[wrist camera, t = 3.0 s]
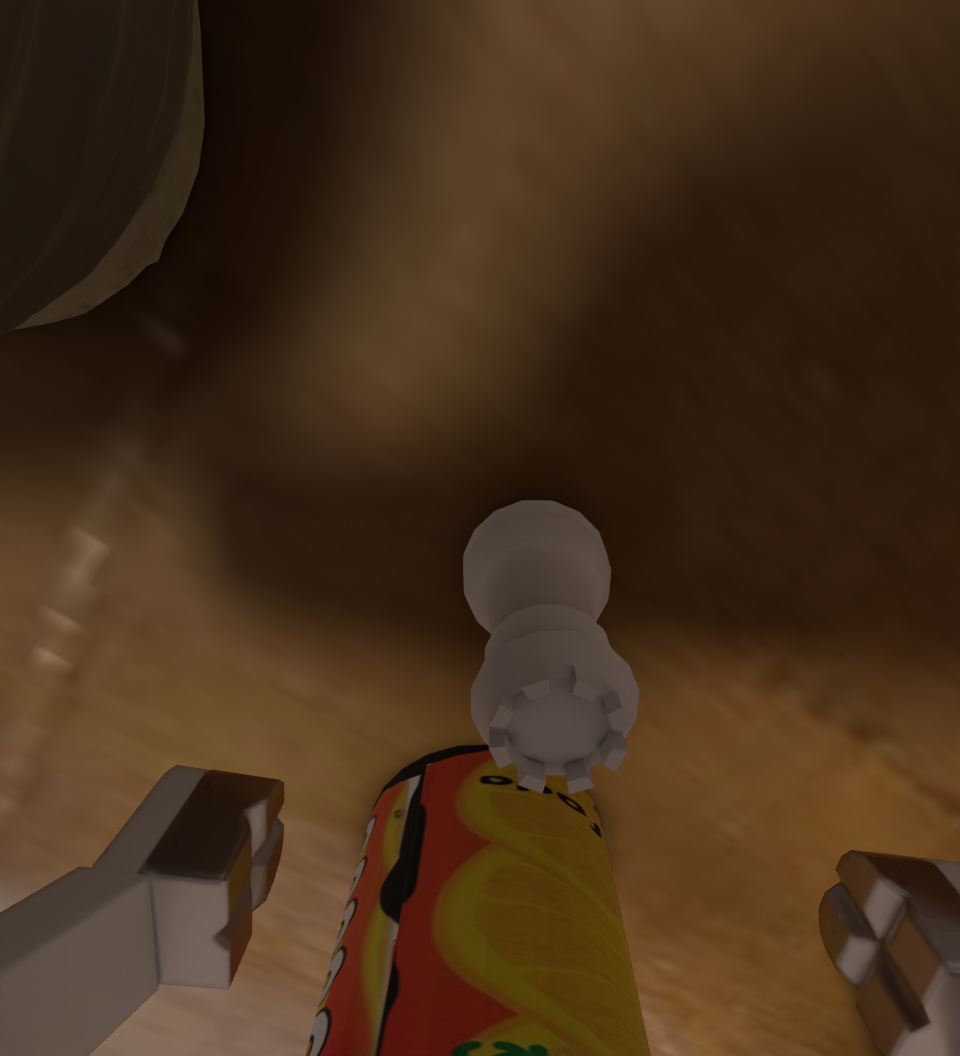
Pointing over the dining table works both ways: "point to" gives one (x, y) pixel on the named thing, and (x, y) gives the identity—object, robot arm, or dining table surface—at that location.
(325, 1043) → the beverage can
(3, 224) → the vase
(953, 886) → the robot arm
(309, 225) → the dining table surface
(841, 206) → the dining table surface
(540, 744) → the rook chess piece
